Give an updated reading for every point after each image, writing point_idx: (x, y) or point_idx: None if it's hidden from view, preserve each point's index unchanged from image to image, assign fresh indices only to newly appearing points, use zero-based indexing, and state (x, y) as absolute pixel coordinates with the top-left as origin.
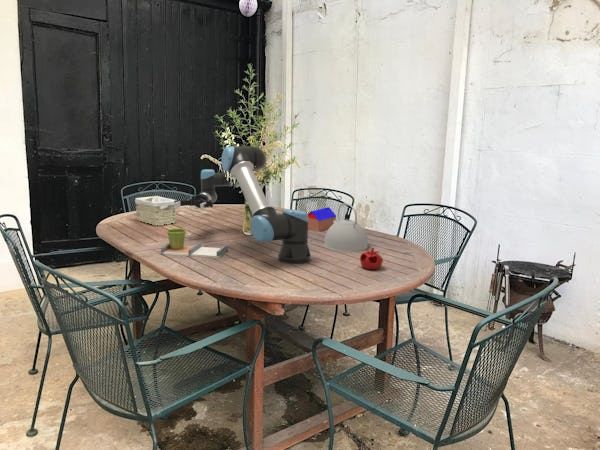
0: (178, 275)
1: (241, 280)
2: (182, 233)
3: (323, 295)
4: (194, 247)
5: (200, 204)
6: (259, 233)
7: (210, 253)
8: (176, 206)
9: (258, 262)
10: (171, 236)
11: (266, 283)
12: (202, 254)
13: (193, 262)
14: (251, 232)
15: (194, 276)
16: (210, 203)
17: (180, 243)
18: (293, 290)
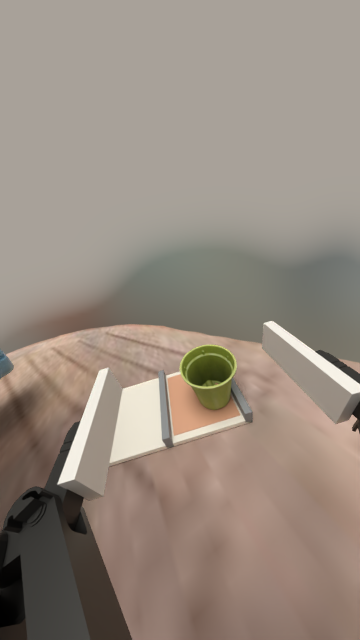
0: (145, 326)
1: (80, 345)
2: (183, 363)
3: (15, 353)
4: (160, 389)
5: (109, 369)
6: (2, 351)
7: (125, 400)
8: (272, 350)
9: (35, 410)
10: (207, 354)
11: (56, 350)
12: (139, 386)
13: (145, 359)
14: (9, 361)
15: (129, 332)
16: (8, 533)
17: (195, 380)
18: (37, 349)
